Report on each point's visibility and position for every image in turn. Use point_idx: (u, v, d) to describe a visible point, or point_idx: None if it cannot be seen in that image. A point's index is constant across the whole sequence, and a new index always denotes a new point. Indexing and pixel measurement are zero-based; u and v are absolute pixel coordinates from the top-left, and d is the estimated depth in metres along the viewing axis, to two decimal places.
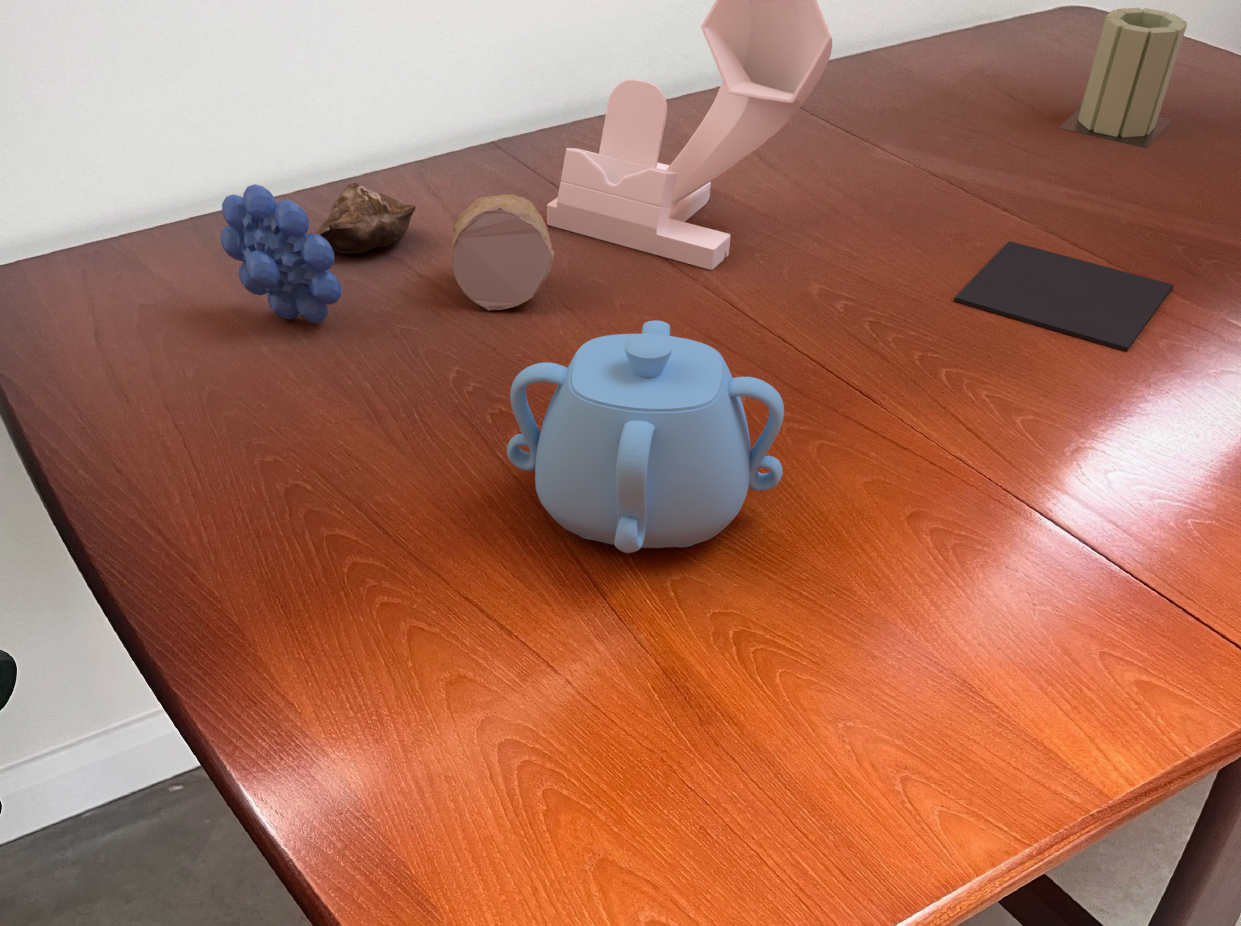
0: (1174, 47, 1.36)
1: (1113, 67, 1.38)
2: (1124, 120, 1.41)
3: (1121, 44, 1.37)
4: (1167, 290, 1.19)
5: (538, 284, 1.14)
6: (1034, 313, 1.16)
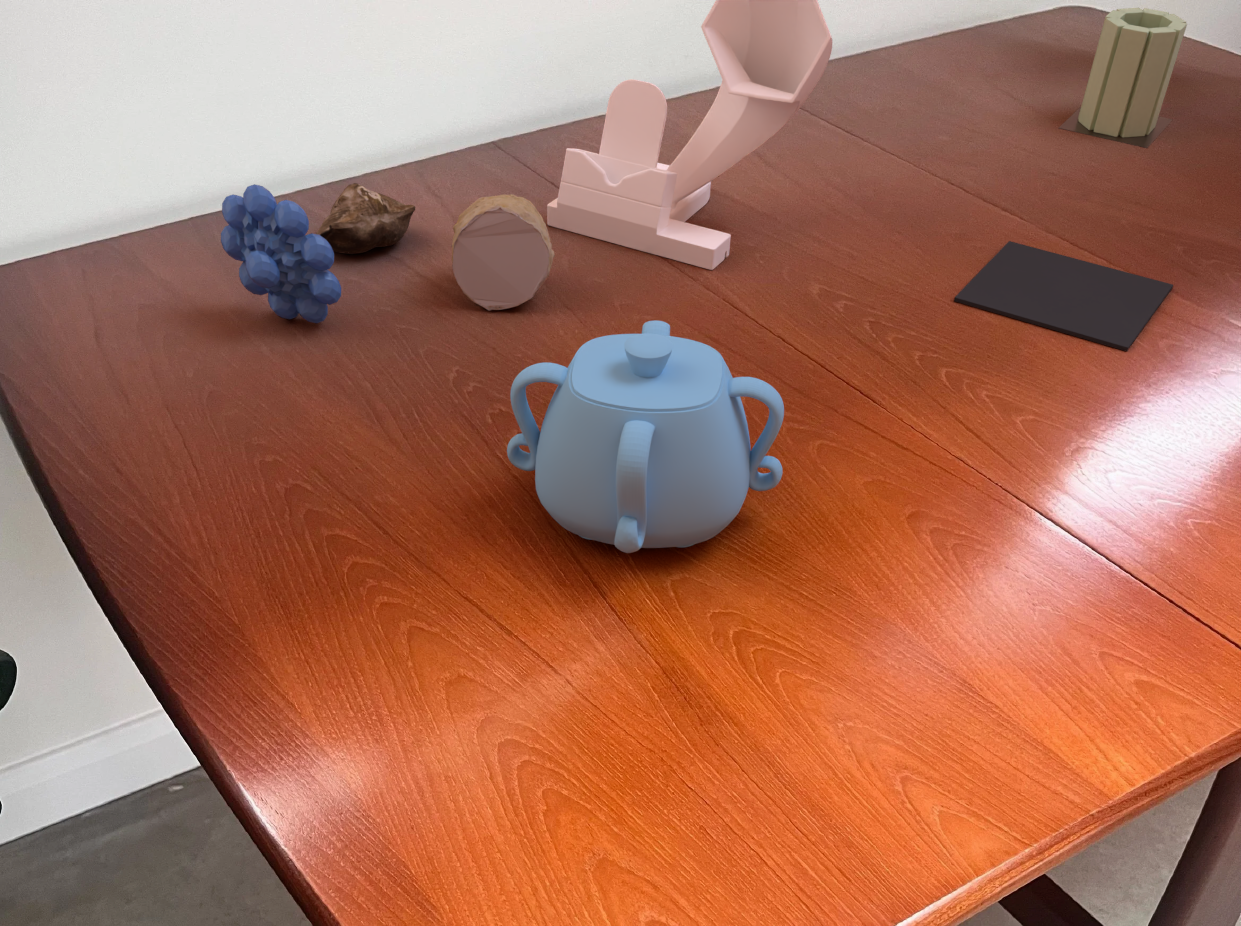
0: (1174, 47, 1.36)
1: (1113, 67, 1.38)
2: (1124, 120, 1.41)
3: (1121, 44, 1.37)
4: (1167, 290, 1.19)
5: (538, 284, 1.14)
6: (1034, 313, 1.16)
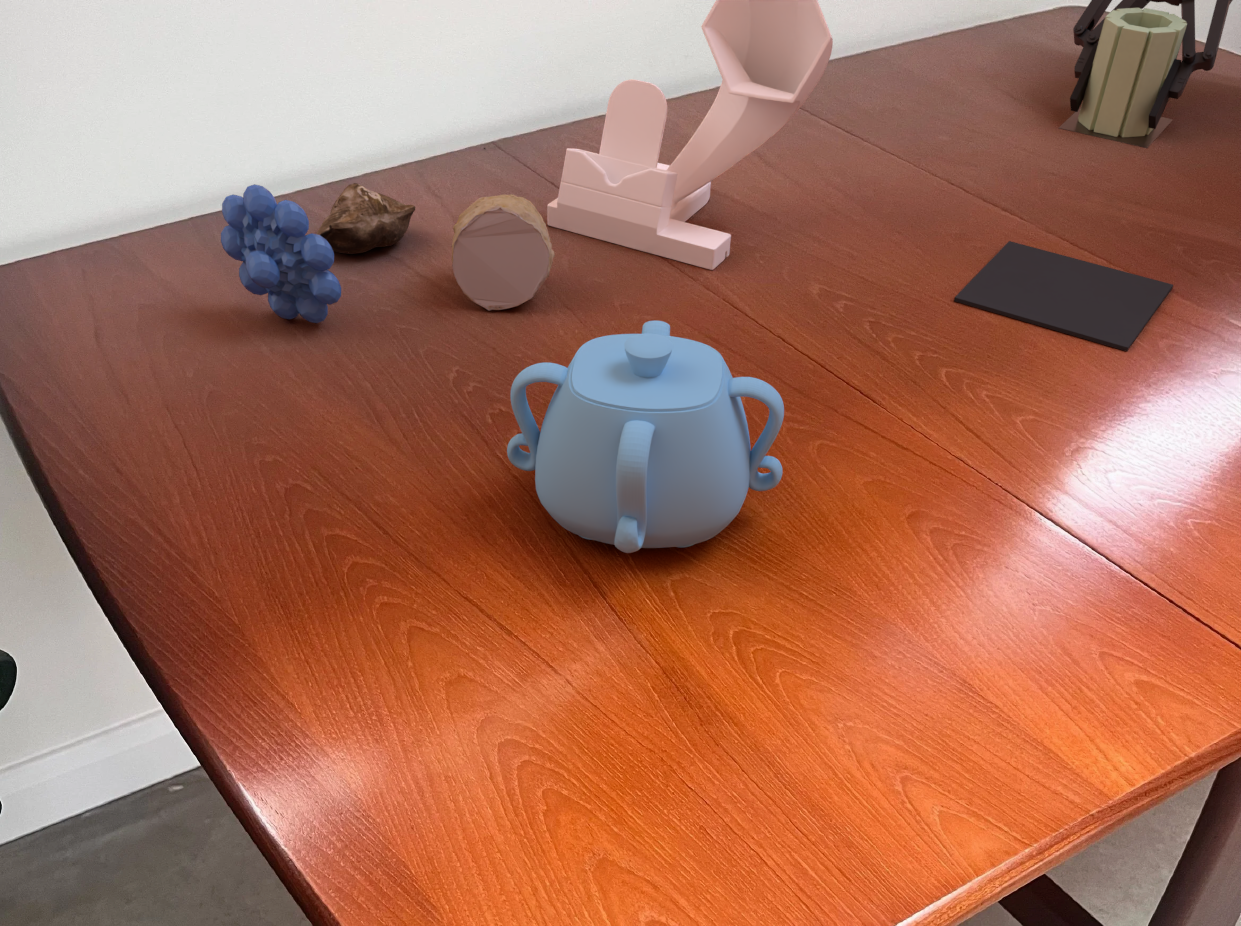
0: (1174, 47, 1.36)
1: (1113, 67, 1.38)
2: (1124, 120, 1.41)
3: (1121, 44, 1.37)
4: (1167, 290, 1.19)
5: (538, 284, 1.14)
6: (1034, 313, 1.16)
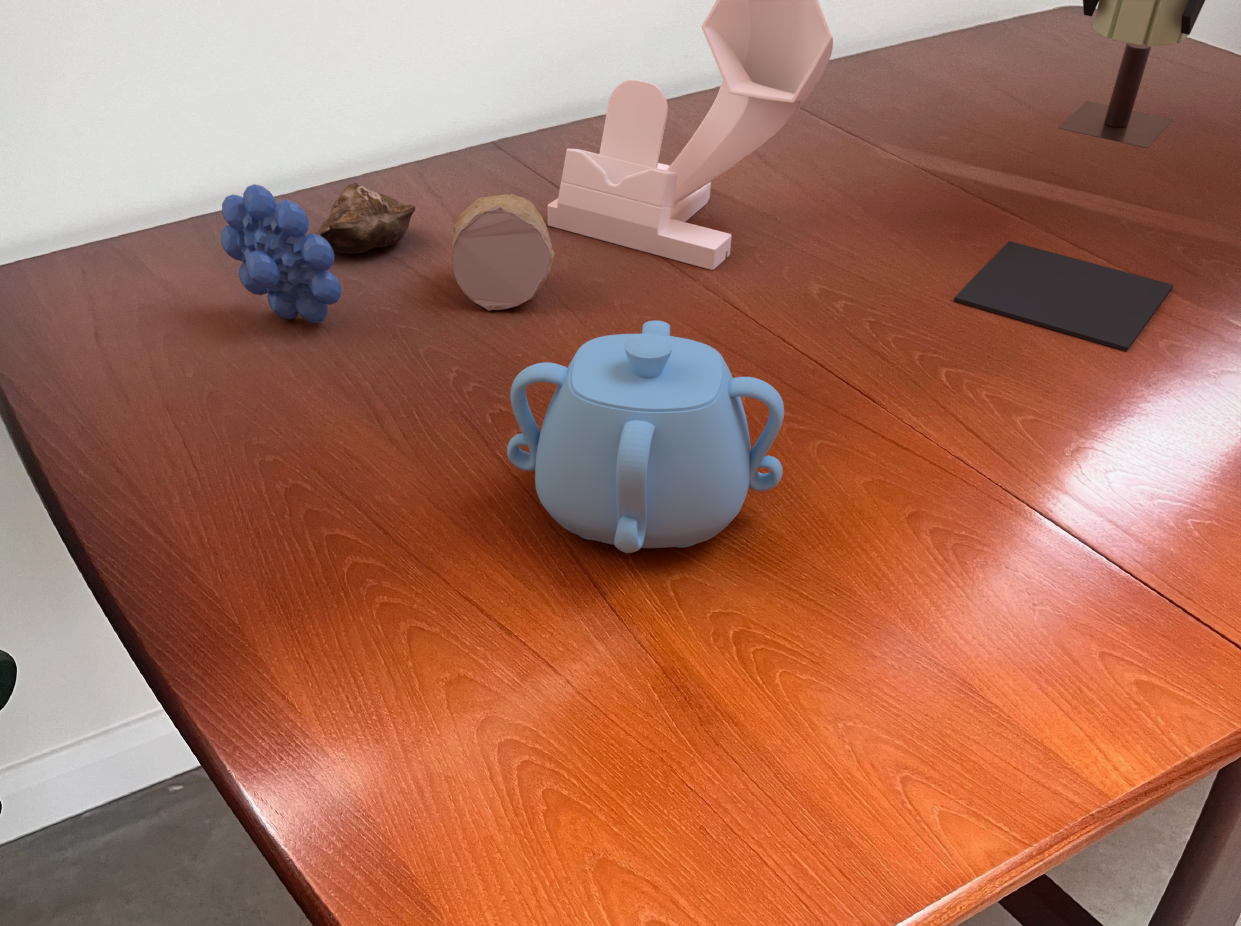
0: None
1: None
2: (1150, 24, 1.13)
3: None
4: (1167, 290, 1.19)
5: (538, 284, 1.14)
6: (1034, 313, 1.16)
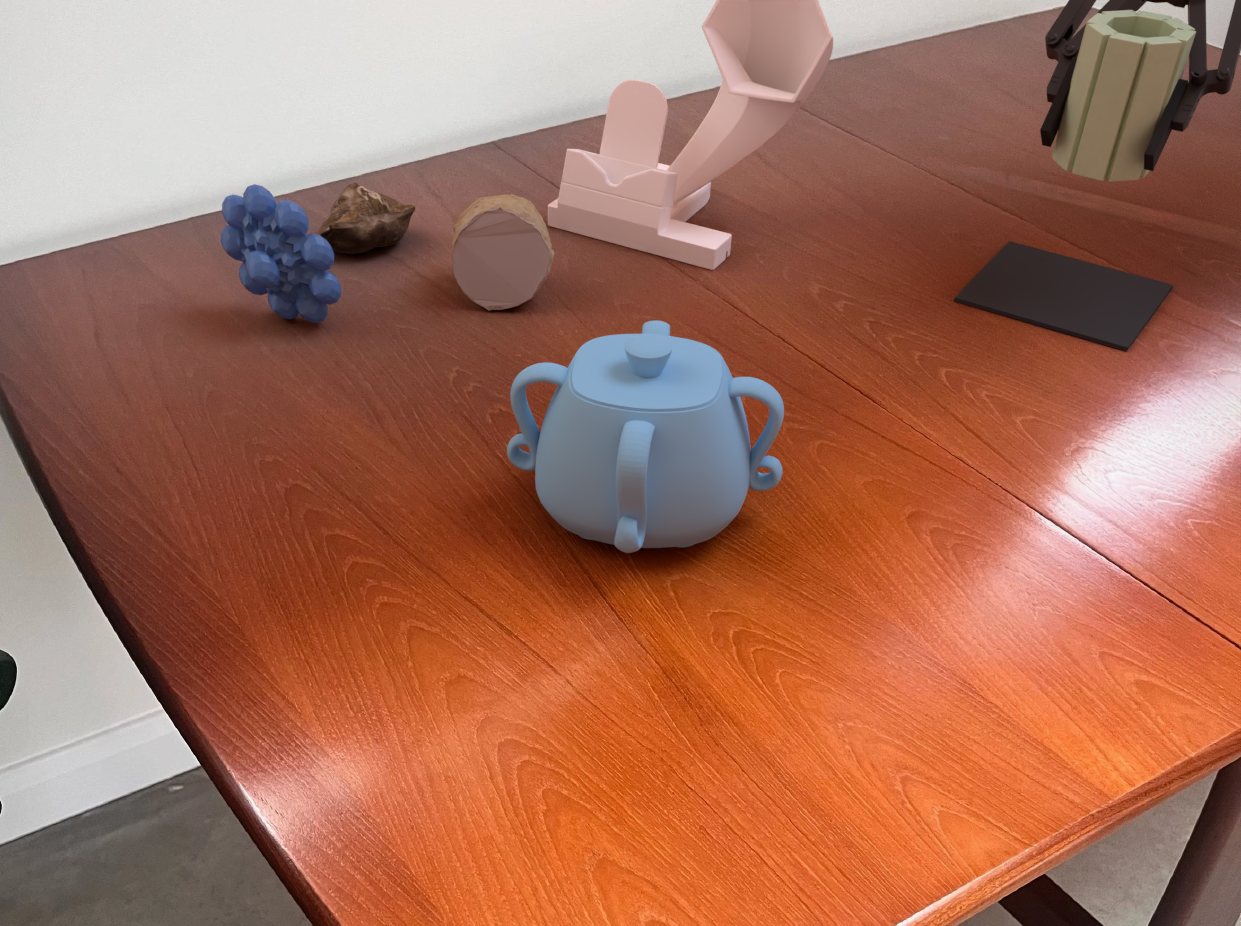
0: (1179, 63, 1.02)
1: (1097, 89, 1.04)
2: (1112, 159, 1.07)
3: (1108, 59, 1.02)
4: (1167, 290, 1.19)
5: (538, 284, 1.14)
6: (1034, 313, 1.16)
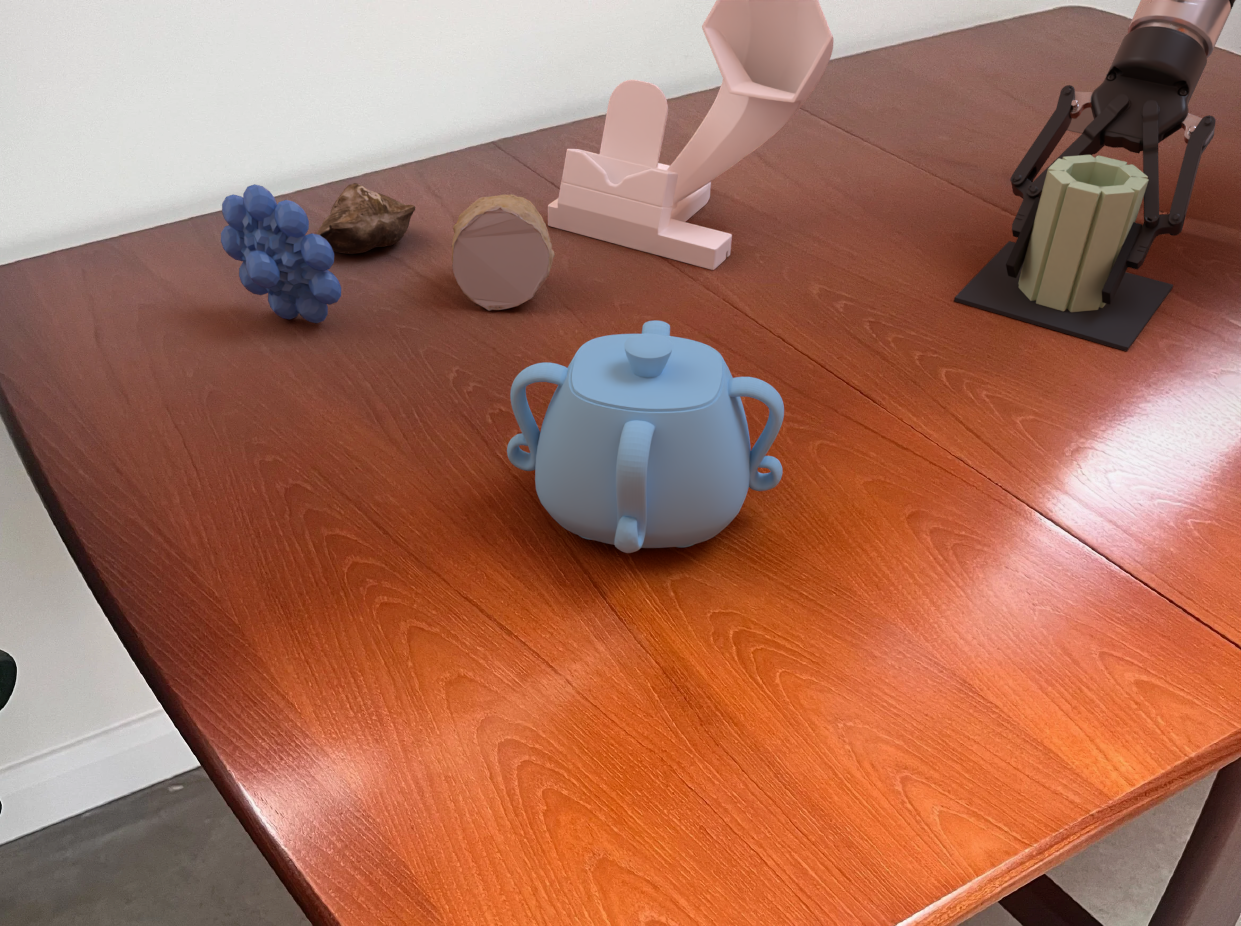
0: (1132, 209, 1.10)
1: (1058, 231, 1.12)
2: (1072, 292, 1.15)
3: (1067, 205, 1.10)
4: (1167, 290, 1.19)
5: (538, 284, 1.14)
6: (1034, 313, 1.16)
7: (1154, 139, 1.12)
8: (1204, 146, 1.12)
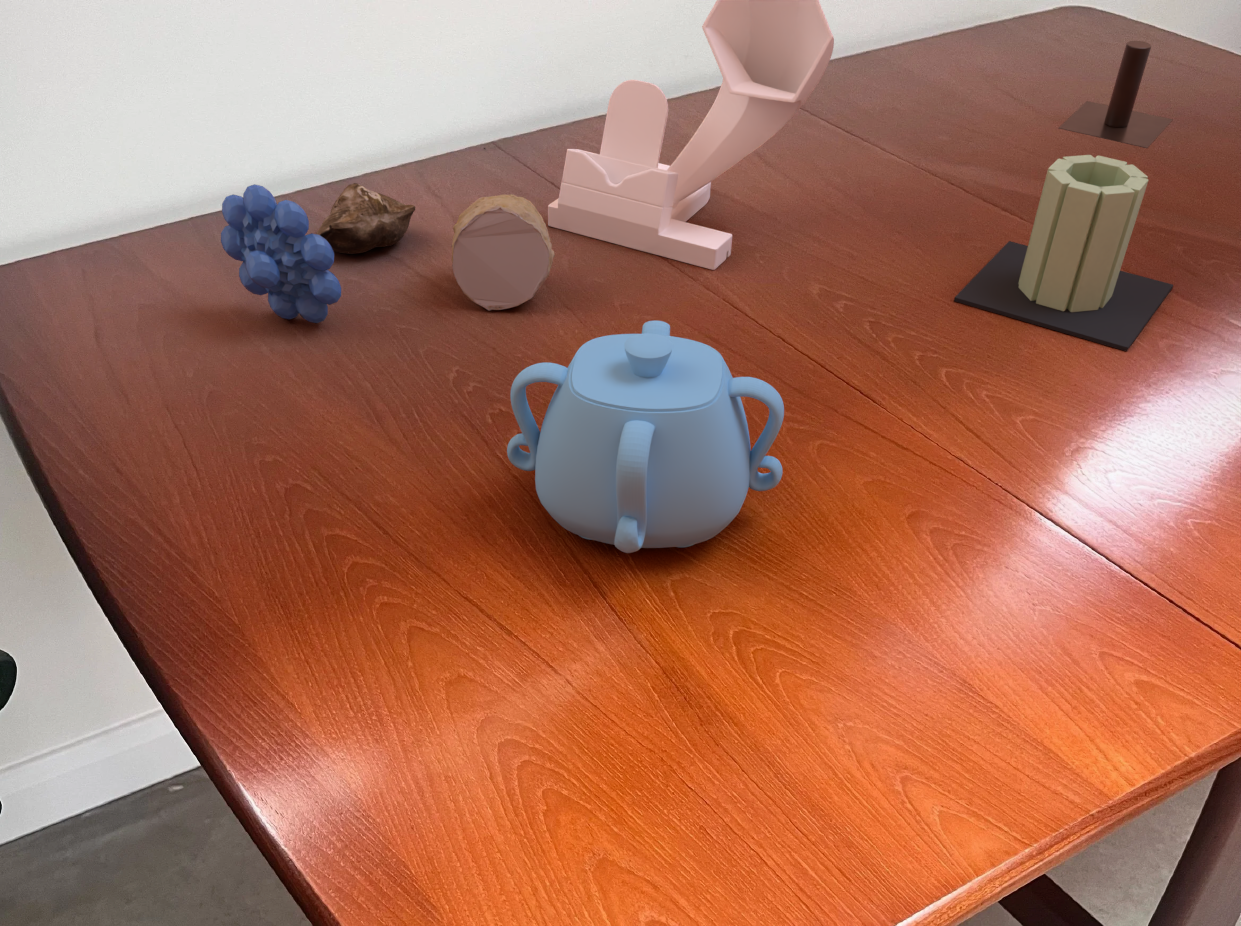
0: (1132, 209, 1.10)
1: (1058, 231, 1.12)
2: (1072, 292, 1.15)
3: (1067, 205, 1.10)
4: (1167, 290, 1.19)
5: (538, 284, 1.14)
6: (1034, 313, 1.16)
7: None
8: None
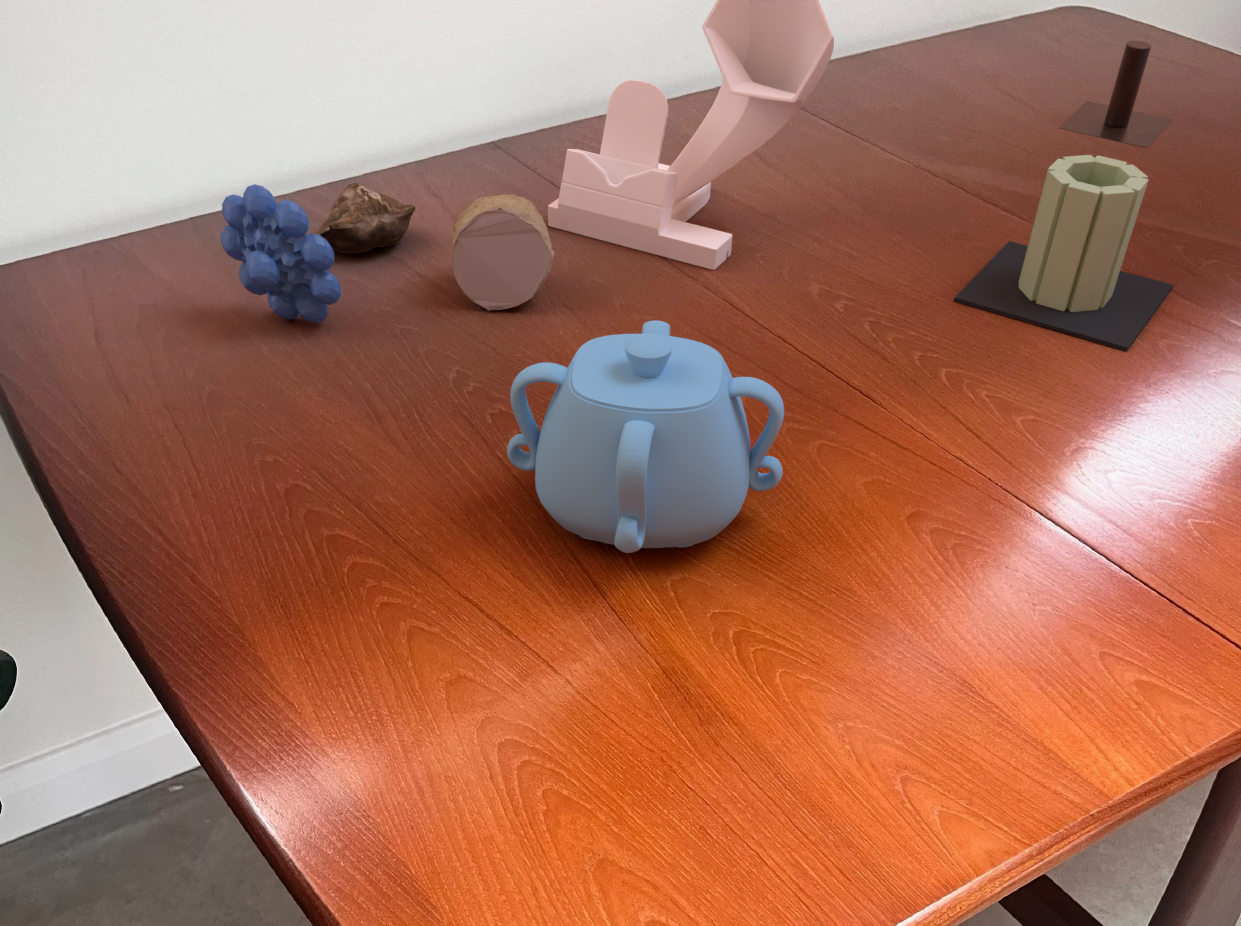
0: (1132, 209, 1.10)
1: (1058, 231, 1.12)
2: (1072, 292, 1.15)
3: (1067, 205, 1.10)
4: (1167, 290, 1.19)
5: (538, 284, 1.14)
6: (1034, 313, 1.16)
7: None
8: None
